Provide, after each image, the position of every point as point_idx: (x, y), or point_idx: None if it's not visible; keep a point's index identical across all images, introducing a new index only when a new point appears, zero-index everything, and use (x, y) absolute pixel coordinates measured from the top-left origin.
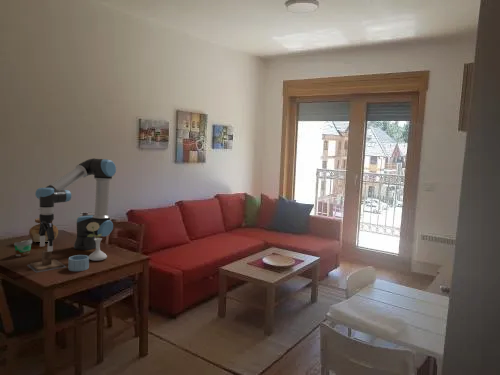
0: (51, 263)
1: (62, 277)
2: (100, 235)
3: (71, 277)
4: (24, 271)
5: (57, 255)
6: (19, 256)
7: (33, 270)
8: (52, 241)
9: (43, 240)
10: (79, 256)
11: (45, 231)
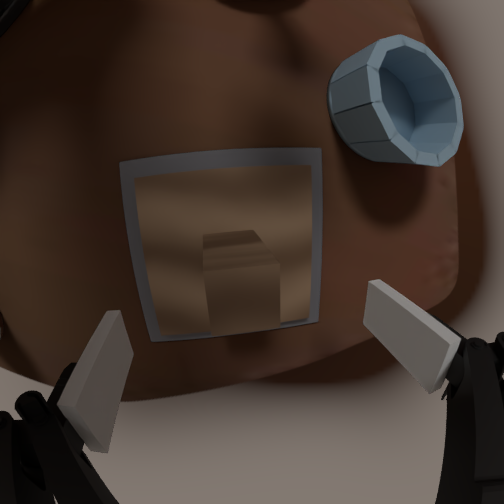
0: (253, 230)
1: (433, 226)
2: None
3: (449, 195)
4: (253, 359)
5: (19, 143)
6: (2, 329)
7: (277, 328)
8: (464, 338)
9: (104, 372)
10: (376, 64)
11: (98, 497)
